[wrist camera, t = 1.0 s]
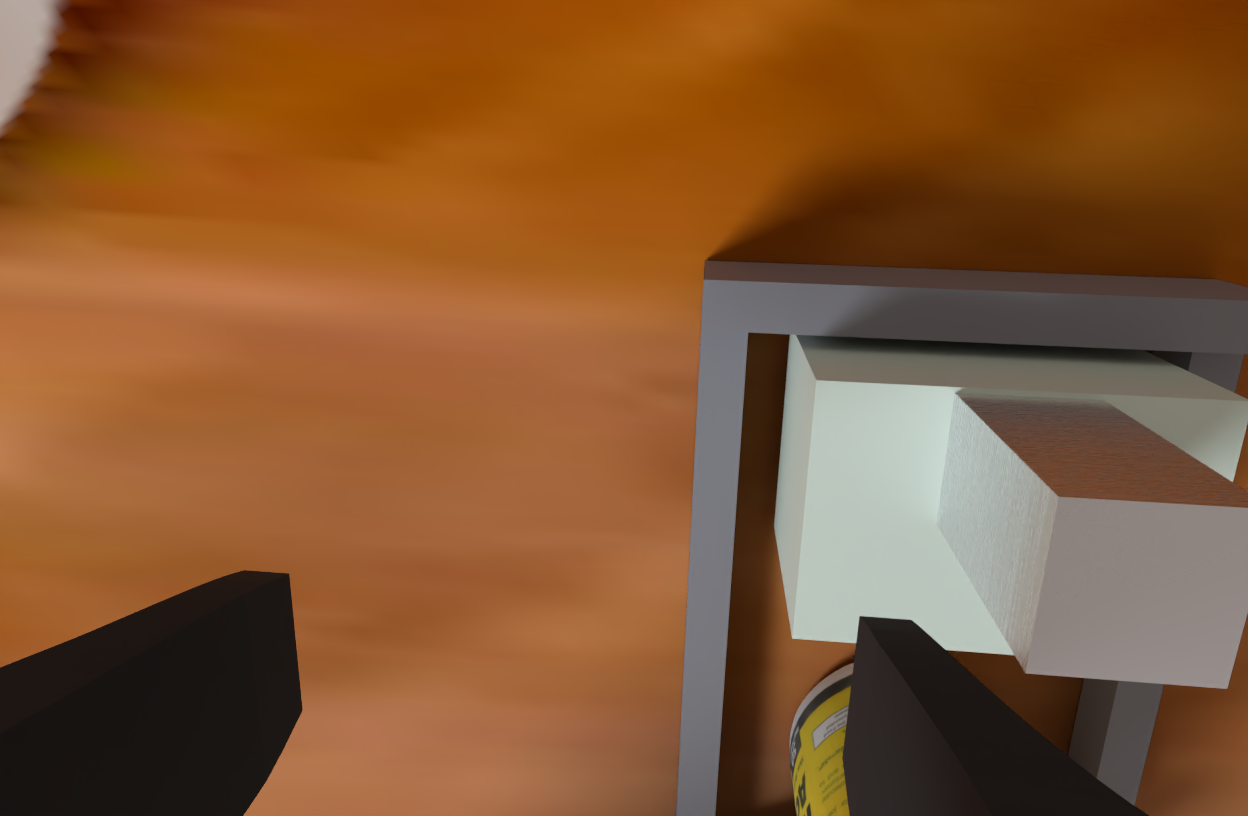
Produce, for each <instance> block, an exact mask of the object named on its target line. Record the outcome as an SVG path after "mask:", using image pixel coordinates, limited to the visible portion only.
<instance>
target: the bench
mask: <svg viewBox="0 0 1248 816" xmlns="http://www.w3.org/2000/svg"><path fill="white" fill-rule="evenodd" d="M748 333H770V334H792V335H815V336H838V337H860V338H883V339H906V340H929V341H951V342H974V343H997V344H1020V345H1042V346H1065V347H1088V348H1110V349H1133V350H1153V353H1152V355H1154V356H1156V357H1158V358H1161V359H1163V360H1165V361H1167V362H1169V363H1171V364H1173V365H1176V366H1178V367H1180V368H1182V369H1184V370H1186V371H1189V372H1191V373H1193V374H1195V375H1197V376H1199V377H1201V378H1204V379H1206V380H1208V381H1210V382H1212V383H1214V384H1216V385H1219V386H1221V387H1223V388H1225V389H1227V390H1229V391H1231V392H1234V393H1235V391H1236V387H1237V382H1238V378H1239V374H1240V370H1241V366H1242V362H1243V358H1244V354H1247V355H1248V287H1245V286H1242V285H1238V284H1234V283H1230V282H1226V281H1222V280H1218V279H1196V278H1168V277H1141V276H1114V275H1087V274H1060V273H1032V272H1005V271H978V270H951V269H924V268H896V267H869V266H842V265H815V264H788V263H761V262H733V261H706V260H705V267H704V282H703V301H702V320H701V344H700V363H699V382H698V402H697V421H696V440H695V460H694V479H693V498H692V518H691V537H690V557H689V576H688V595H687V615H686V634H685V653H684V673H683V692H682V711H681V731H680V750H679V769H678V789H677V808H676V816H715V812H716V798H717V783H718V768H719V754H720V739H721V724H722V709H723V695H724V680H725V665H726V651H727V636H728V621H729V607H730V592H731V577H732V563H733V548H734V533H735V519H736V504H737V489H738V474H739V460H740V445H741V430H742V416H743V401H744V386H745V372H746V357H747V342H748ZM1163 687H1164V684H1156V683H1143V682H1130V681H1117V680H1104V679H1091V678H1084V681H1083V686H1082V690H1081V695H1080V700H1079V705H1078V709H1077V714H1076V719H1075V724H1074V728H1073V733H1072V738H1071V742H1070V747H1069V752H1068V756H1069V757H1070V758H1071V759H1072V760H1074V761H1075V762H1076V763H1078V764H1079V765H1080V766H1081V767H1083V768H1084V769H1085V770H1087V771H1088V772H1089V773H1090V774H1092V775H1093V776H1094V777H1095V778H1097V779H1098V780H1099V781H1101V782H1102V783H1103V784H1105V785H1106V786H1107V787H1109V788H1110V789H1112V790H1113V791H1114V792H1116V793H1117V794H1119V795H1120V796H1121V797H1123V798H1124V799H1125V800H1127V801H1128V802H1130V803H1131V804H1132V805H1134V806H1135V802H1136V798H1137V794H1138V790H1139V785H1140V781H1141V777H1142V773H1143V769H1144V765H1145V761H1146V757H1147V753H1148V748H1149V744H1150V740H1151V736H1152V732H1153V728H1154V724H1155V720H1156V716H1157V711H1158V707H1159V703H1160V699H1161V695H1162V691H1163Z"/></svg>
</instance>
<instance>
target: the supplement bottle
mask: <svg viewBox="0 0 1248 816" xmlns="http://www.w3.org/2000/svg"><path fill="white" fill-rule="evenodd" d="M853 666H854V663H851V664H849V665H847V666H844V667H842V668H840V669H839V670H837V671H835V672H833V673H832V674H830V675H829V676H827V677H826V678H824V679H823V680H822V681H821V682H819V683H818V684H817V685H816V686H815V687H814V688H813V689H812V690H811V691H810V692H809V693H808V695H807V696H806V697H805V698H804V700H803V701H802V703H801V704H800V706H799V708H798V710H797V712H796V715H795V717H794V720H793V723H792V728H791V733H790V745H789V746H790V769H791V780H792V785H793V790H794V798H795V808H796V815H797V816H850V815H849V807H848V800H847V792H846V784H845V775H844V767H843V759H842V757H843V748H844V740H845V732H846V724H847V715H848V707H849V699H850V691H851V682H852V674H853Z"/></svg>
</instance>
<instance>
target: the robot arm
mask: <svg viewBox="0 0 1248 816" xmlns="http://www.w3.org/2000/svg"><path fill="white" fill-rule="evenodd" d="M301 712H302V701H301V690H300V680H299V670H298V660H297V650H296V640H295V629H294V619H293V609H292V599H291V589H290V578H289V574H286V573H272V572H259V571H245V570H244V571H240V572H237V573H234V574H230V575H227V576H224V577H221V578H218V579H215V580H213V581H210V582H208V583H205V584H202V585H200V586H197V587H195V588H192V589H190V590H187V591H185V592H183V593H180V594H178V595H175V596H173V597H171V598H168V599H166V600H164V601H161V602H159V603H157V604H154V605H152V606H149V607H147V608H145V609H142V610H140V611H138V612H135V613H133V614H131V615H128V616H126V617H124V618H121V619H119V620H117V621H114V622H112V623H110V624H107V625H105V626H103V627H100V628H98V629H96V630H93V631H91V632H89V633H86V634H84V635H81V636H79V637H77V638H74V639H72V640H69V641H67V642H64V643H61V644H59V645H56V646H54V647H51V648H49V649H46V650H44V651H41V652H39V653H36V654H34V655H31V656H29V657H26V658H24V659H21V660H19V661H16V662H13V663H11V664H8V665H6V666H3V667H1V668H0V816H243V815H244V813H245V812H246V811H247V809H248V808H249V806H250V805H251V803H252V802H253V800H254V799H255V797H256V796H257V794H258V793H259V791H260V790H261V788H262V787H263V785H264V784H265V782H266V781H267V779H268V777H269V775H270V773H271V771H272V770H273V768H274V766H275V764H276V762H277V760H278V758H279V756H280V755H281V753H282V751H283V749H284V747H285V745H286V743H287V741H288V739H289V737H290V735H291V733H292V730H293V728H294V726H295V724H296V722H297V720H298V718H299V716H300V714H301ZM842 759H843V767H844V775H845V784H846V792H847V800H848V807H849V815H850V816H1149V815H1147V814H1146V813H1144V812H1143V811H1141V810H1140V809H1138V808H1137V807H1135V806H1134V805H1132V804H1131V803H1130V802H1128V801H1127V800H1125V799H1124V798H1123V797H1121V796H1120V795H1119V794H1117V793H1116V792H1114V791H1113V790H1112V789H1110V788H1109V787H1107V786H1106V785H1105V784H1103V783H1102V782H1101V781H1099V780H1098V779H1097V778H1095V777H1094V776H1093V775H1092V774H1090V773H1089V772H1088V771H1087V770H1085V769H1084V768H1083V767H1081V766H1080V765H1079V764H1078V763H1076V762H1075V761H1074V760H1072V759H1071V758H1070V757H1069V756H1067V755H1066V754H1065V753H1063V752H1062V751H1061V750H1060V749H1058V748H1057V747H1056V746H1055V745H1053V744H1052V743H1051V742H1050V741H1048V740H1047V739H1046V738H1045V737H1043V736H1042V735H1041V734H1040V733H1039V732H1037V731H1036V730H1035V729H1034V728H1033V727H1031V726H1030V725H1029V724H1028V723H1027V722H1025V721H1024V720H1023V719H1022V718H1021V717H1020V716H1018V715H1017V714H1016V713H1015V712H1014V711H1013V710H1011V709H1010V708H1009V707H1008V706H1007V705H1006V704H1005V703H1003V702H1002V701H1001V700H1000V699H999V698H998V697H997V696H996V695H994V694H993V693H992V692H991V691H990V690H989V689H988V688H987V687H985V686H984V685H983V684H982V683H981V682H980V681H979V680H978V679H977V678H975V677H974V676H973V675H972V674H971V673H970V672H969V671H968V670H967V669H966V668H965V667H963V666H962V665H961V664H960V663H959V662H958V661H957V660H956V659H955V658H954V657H953V656H952V655H950V654H949V653H948V652H947V651H946V650H945V649H944V648H943V647H942V646H941V645H940V644H938V643H937V642H936V641H935V640H934V639H933V638H932V637H931V636H930V635H929V634H927V633H926V632H925V631H924V630H923V629H922V628H921V627H919V626H918V625H917V624H916V623H915V622H913V621H912V620H907V619H893V618H880V617H866V616H860V617H859V625H858V633H857V641H856V650H855V658H854V666H853V674H852V682H851V691H850V699H849V707H848V715H847V724H846V732H845V740H844V748H843V757H842Z"/></svg>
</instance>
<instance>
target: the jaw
mask: <svg viewBox="0 0 1248 816" xmlns="http://www.w3.org/2000/svg"><path fill="white" fill-rule="evenodd" d="M1247 424H1248V399H1247V398H1244V397H1242V396H1240V395H1238V394H1236V393H1234V392H1231V391H1229V390H1227V389H1225V388H1223V387H1221V386H1219V385H1216V384H1214V383H1212V382H1210V381H1208V380H1206V379H1204V378H1201V377H1199V376H1197V375H1195V374H1193V373H1191V372H1189V371H1186V370H1184V369H1182V368H1180V367H1178V366H1176V365H1173V364H1171V363H1169V362H1167V361H1165V360H1163V359H1161V358H1158V357H1156V356H1154V355H1152V354H1150V353H1148V352H1146V351H1143V350H1133V349H1110V348H1088V347H1065V346H1042V345H1020V344H997V343H974V342H951V341H929V340H906V339H883V338H860V337H838V336H815V335H792V334H790V338H789V350H788V362H787V374H786V386H785V398H784V411H783V423H782V435H781V447H780V459H779V471H778V483H777V495H776V507H775V519H774V530H775V536H776V542H777V548H778V554H779V560H780V566H781V573H782V579H783V585H784V591H785V597H786V603H787V609H788V616H789V622H790V628H791V634H792V639H805V640H818V641H832V642H845V643H856V641H857V633H858V625H859V617H860V616H866V617H880V618H893V619H907V620H912V621H913V622H915V623H916V624H917V625H918V626H919V627H921V628H922V629H923V630H924V631H925V632H926V633H927V634H929V635H930V636H931V637H932V638H933V639H934V640H935V641H936V642H937V643H938V644H940V645H941V646H942V647H943V648H944V649H945V650H952V651H965V652H978V653H992V654H1005V655H1015V657H1016V658H1017V660H1018V662H1019V663H1020V665H1021V667H1022V668H1023V670H1024V672H1025V673H1026V674H1039V675H1052V676H1065V677H1078V678H1091V679H1104V680H1117V681H1130V682H1143V683H1156V684H1169V685H1182V686H1195V687H1208V688H1221V689H1227V688H1228V684H1229V681H1230V677H1231V673H1232V669H1233V666H1234V662H1235V658H1236V654H1237V651H1238V647H1239V643H1240V640H1241V636H1242V632H1243V628H1244V625H1245V621H1246V617H1247V614H1248V492H1247V491H1246V490H1244V489H1242V488H1241V487H1239V486H1238V485H1236V484H1235V483H1233V480H1234V476H1235V472H1236V468H1237V464H1238V460H1239V456H1240V452H1241V448H1242V444H1243V440H1244V436H1245V432H1246V428H1247Z"/></svg>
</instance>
